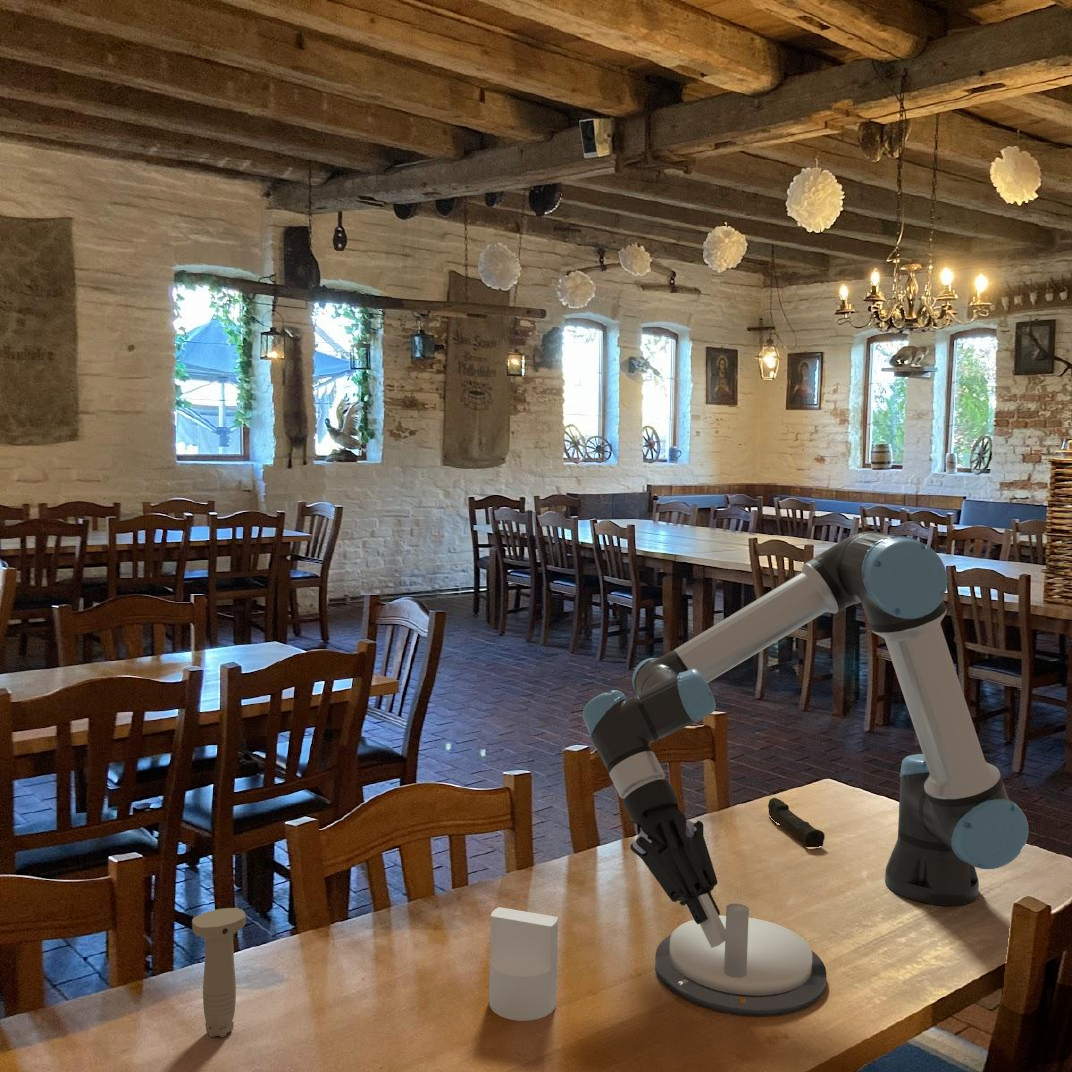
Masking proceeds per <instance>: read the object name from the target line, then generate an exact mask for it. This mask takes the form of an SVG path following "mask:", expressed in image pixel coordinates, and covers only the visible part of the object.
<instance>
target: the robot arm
mask: <svg viewBox="0 0 1072 1072" xmlns="http://www.w3.org/2000/svg"><path fill="white" fill-rule="evenodd" d="M800 571H801V572H800V573H798V574H797V575H795V576H794V577H792V578H790V579H789V580H787V581H784V583H782V584H780V585H779V586H777V587H776V588H774V589H772V590H770V591H769V592H767V593H766V594H764V595H762V596H761V597H759V598H757V599H756V600H754V601H752V602H750V603H749V604H747V605H746V606H743V607H742V608H741V609H739V610H738V611H736V612H734V613H732V614H730V616H728V617H726V618H724V619H723V620H721V621H719V622H718V623H716V624H714V625H713V626H711V627H710V628H707V630H704V631H703V632H701V633H699V634H698V635H696V636H695V637H693V638H690V639H689V640H688V641H686V642H684V643H683V644H681V645H679V646H678V647H676V648H675V649H673V650H671V651H669V652H667V653H666V654H664V655H663V656H661V657H659V658H658V657H649V658H646V659H644V660H642V661H640V662H639V663H638V664H637V666H636V667H635V669H634V671H633V674H632V677H631V678H632V679H631V681H632V687H633V689H634V692H635V696H631V697H630V698H629V697H627V696H626V695H625V694H624V692H622V691H620V690H616V689H615V690H614V689H613V690H610V691H608V692H602V693H600V694H598V695H596V696H595V697H593V698H592V699H591V700H589V701H588V702H587V703H586V704H585V706H584V708H583V710H582V719H583V721H584V724H585V726H586V729H587V731H588V733H589V736H590V738H591V740H592V742H593V744H594V746H595V748H596V750H597V752H598V754H599V756H600V758H601V761H602V762H603V764H604V766H605V769H606V770H607V773H608V774H609V777H610V779H611V781H612V783H613V785H614V787H615V790H616V791H617V794H618V796H619V797H620V799H623V804H622V805H623V806H624V808H625V810H626V812H627V815H628V816H629V819H630V821H631V822H632V823H633V824H635V825H636V832H637V835H638V836H637V837H636V839H635V840H634V841H633V842H632V843H631V844H630V846H629V848H630V850H631V852H633V853H634V854H635V855H637V856H638V857H639V858H641V860H642V861H643V863H644V865H645V866H646V867H647V868H648V870H649V871H650V872H651V874H652V875H653V877H654V878H655V879H656V881H657V882H658V884H660V887H661V888H662V889H663V891H664V892H665V893H666V895H667V897H668V898H669V899H670V901H672V902H673V903H677V902H679V903H678V904H679V905H680V906H687V908H688V910H689V913H690V914H691V916H692V918H693V920H695V922H696V923H697V924H700V926H701V928H702V930H703V932H704V934H705V936H706V938H707V940H708V942H709V944H710V946H711V948H713V947H716V946H718V945H720V944H721V943H723V942H724V941H725V931H726V929H725V927H724V925H723V923H722V921H721V919H720V917H719V916H721V912H720V909H719V907H718V905H717V902H715V900H714V897H713V895H712V891H713V890H714V887H716V886H717V885H718V883H719V882H718V878H717V876H716V873H715V869H714V865H713V862H712V859H711V856H710V853H709V849H708V847H707V843H706V841H705V837H704V823H703V822H702V821H701V820H697V821H696V822H694V821H691V820H688V819H687V817H686V815H685V814H684V813H683V812H682V811H681V810H680V809H679V805H678V802H679V800H678V797H677V795H676V793H675V792H674V791H675V790H674V789H673V787H672V785H671V783H670V781H669V780H667V779H665V778H666V774H665V772H664V770H663V767H662V766H661V764H660V762H659V760H658V758H657V756H656V754H655V752H654V750H653V749H652V747H651V744H652V743H654V742H657V741H659V740H661V739H664V738H665V737H667V736H669V735H672V734H674V733H676V732H677V731H680V730H682V729H684V728H686V727H688V726H690V725H692V724H695V723H698V722H700V721H701V720H702V719H705V718H706V717H708V716H710V715H711V714H713V713H714V712H715V710H716V708H717V704H716V701H715V697H714V694H713V693H712V690H711V689H710V686H709V684H708V683H710V682H711V681H713V680H715V679H716V678H718V677H719V676H721V675H723V674H724V673H726V672H728V671H729V670H731V669H733V668H734V667H736V666H738V665H740V664H741V663H743V662H744V661H747V660H748V659H750V658H752V657H753V656H754V655H755V656H756V654H758V653H760V652H761V651H763V650H765V649H766V648H768V647H770V646H772V645H773V644H775V643H776V642H778V641H780V640H781V639H783V638H785V637H786V636H788V635H790V634H792V633H794V632H795V631H796V630H798V629H801V627H802V626H805V625H807V624H808V623H810V622H812V621H813V620H815V619H817V618H818V617H820V616H822V615H823V614H825V613H830V614H836V613H839V612H840V611H842V610H843V609H845V608H848V607H850V606H852V605H857V604H861V605H862V607H863V610H864V614H865V616H866V619H867V622H868V625H869V628H870V631H871V632H872V633H873V634H875V635H877V636H879V637H881V638H883V639H884V640H885V644H886V648H887V650H888V654H889V656H890V660H891V662H892V666H893V668H894V670H895V671H894V673H895V674H896V677H897V680H898V684H899V686H900V689H901V692H902V695H903V698H904V701H905V704H906V708H907V710H908V713H909V716H910V719H911V722H912V725H913V729H914V731H915V734H916V737H917V740H918V743H919V746H920V749H921V752H922V753H917V754H910V755H907V756H905V757H904V758H903V759H902V762H901V765H900V766H901V768H900V773H899V797H898V799H899V800H898V802H899V803H898V826H897V827H898V828H897V840H896V841H895V845H894V847H893V849H892V851H891V854H890V856H889V859H888V862H887V864H886V867H885V875H884V876H885V877H884V882H885V885H886V886H887V887H888V888H889V889H890V890H891V891H893V892H894V893H896V894H898V895H900V896H902V897H904V898H906V899H908V900H909V899H910V900H913V901H917V902H920V903H925V904H929V905H934V906H935V905H938V906H961V905H968V904H970V903H973V902H974V901H976V900H977V899H978V897H979V890H980V887H979V886H980V882H979V878H978V874H977V870H976V868H977V869H981V870H995V869H998V868H1001V867H1004V866H1006V865H1008V864H1009V863H1012V862H1013V861H1014V860H1015V859H1017V857H1018V856H1019V855H1020V854H1021V852H1022V849H1023V847H1025V846H1026V844H1027V841H1028V838H1029V831H1030V830H1029V829H1030V828H1029V823H1028V819H1027V816H1026V814H1025V813H1024V812H1023V811H1022V809H1021V807H1019V805H1018V804H1017V803H1016V802H1014V801H1012V800H1010V799H1009V796H1008V793H1007V791H1006V787H1005V783H1004V781H1003V778H1002V775H1001V772H1000V770H999V768H998V767H997V766H995V765H994V764H991V763H988V762H987V761H986V758H985V756H984V753H983V750H982V747H981V744H980V741H979V737H978V735H977V732H976V728H975V725H974V723H973V719H972V716H971V713H970V710H969V707H968V704H967V701H966V699H965V696H964V692H963V689H962V686H961V683H960V679H959V678H958V674H957V671H956V668H955V665H954V661H953V659H952V656H951V653H950V650H949V646H948V642H947V640H946V637H945V635H944V634H945V633H944V631H943V628H942V625H941V623H942V621H943V619H944V617H945V616H946V614H947V612H948V611H947V610H948V609H947V607H946V606H947V605H946V604H945V601H944V596H945V593H947V590H948V589H947V588H948V573H947V569H946V567H945V564H944V562H943V560H942V558H941V557H940V556H939V554H937V552H936V551H935V550H934V549H933V548H931V547H930V546H929V545H927V544H925V543H923V542H920V541H919V540H917V539H915V538H913V537H908V536H903V535H892V534H888V533H884V532H879V531H864V532H859V533H856V534H853V535H851V536H848V537H847V538H845V539H843V540H841V541H839V542H838V543H836V544H834V545H833V546H831V547H829V548H827V549H826V550H825V551H822V552H821V553H820V554H818V555H816V556H814V557H813V558H812V559H810V560H808V561H806V562H805V563H803V564H802V568H801V570H800Z"/></svg>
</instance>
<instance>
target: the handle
mask: <svg viewBox="0 0 1072 1072" xmlns="http://www.w3.org/2000/svg"><path fill="white" fill-rule="evenodd" d="M246 915H247V914H246V912H245V911H244V910H243V909H241V908H237V907H226V908H218V909H213V910H209V911H205V912H203V913H200V914H199V915H197V916H196V915H195V916H194V917H193V918H192V920H191V925H192V926H191V927H192V932H193V934H195V935H196V936H197V937H199V938H202V939H204V942H205V943H204V944H205V947H204V949H205V950H204V966H203V967H204V968H203V981H202V982H203V983H202V984H203V985H202V1003H203V1013H204V1019H205V1024H204V1025H205V1031H206V1034H208V1036H209V1037H210V1038H212V1037H213V1038H216V1037H215V1036H220V1037H219V1038H221V1037H222V1038H225V1037H226V1036H227V1035H228V1034H229V1033H228V1032H230V1031H232V1032H233V1030H234V1023H235V1021H234V1017H235V1012H236V1000H237V984H236V983H237V982H236V981H237V980H236V969H235V956H234V955H235V953H234V935H235V934H236V933H237V932H238V931H239V930H241V929H242V928H244V927H245V925H246V922H247V921H246V920H247V918H246ZM227 1033H228V1034H227ZM230 1033H231V1032H230ZM226 1034H227V1035H226ZM224 1036H225V1037H224Z"/></svg>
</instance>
